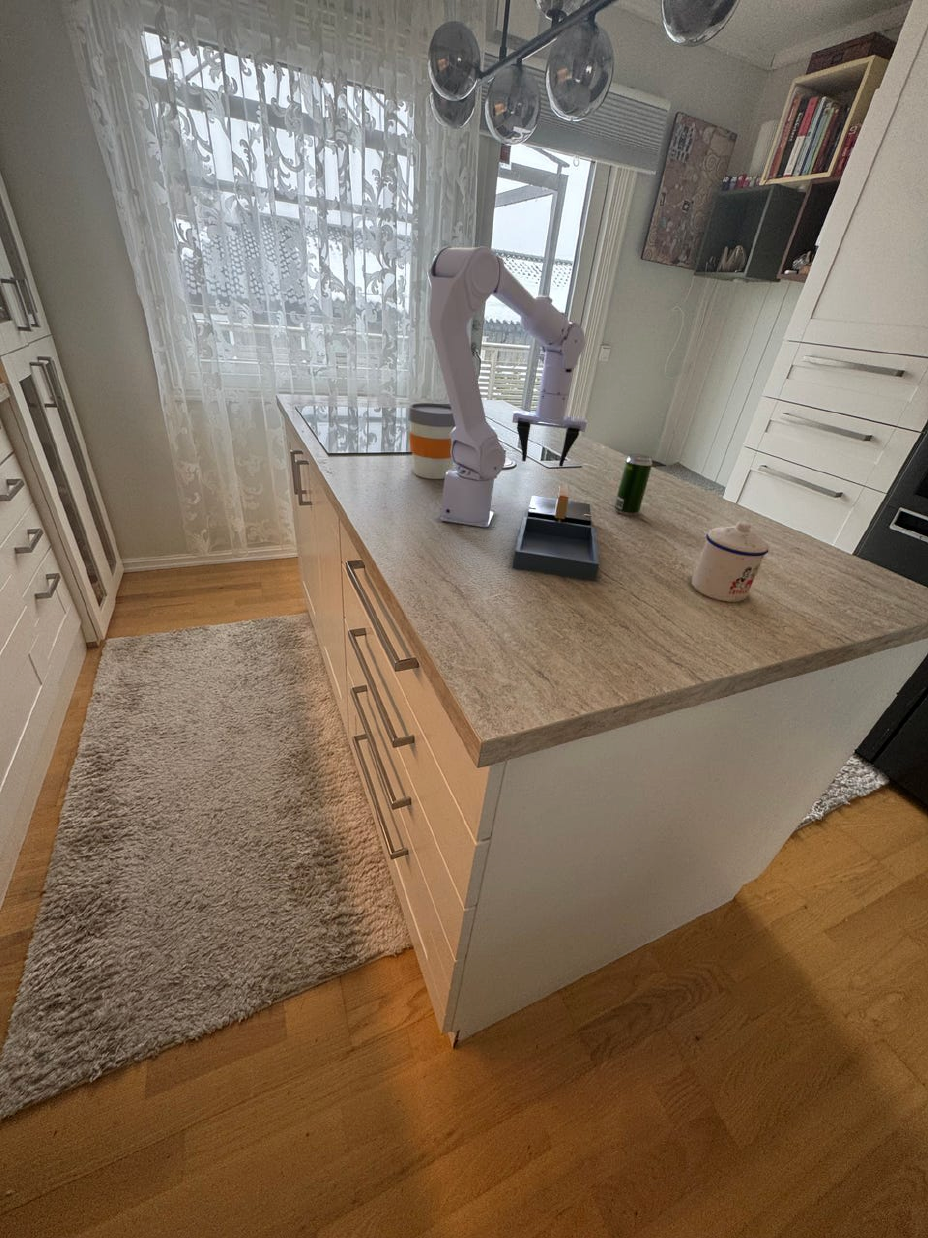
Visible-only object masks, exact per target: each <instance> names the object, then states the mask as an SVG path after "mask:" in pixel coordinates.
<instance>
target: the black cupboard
mask: <svg viewBox="0 0 928 1238" xmlns="http://www.w3.org/2000/svg"><path fill="white" fill-rule="evenodd" d="M556 501H557V498H552V497H544V496H538V495H537V496H536V495H531V498H530V503H529V506H528V512H527V517H532V518H539V519H546V520H553V521H558V523H560V522H566V523H573V524H580V525H586V526H591V524H592V512H591V504H590V503H585V502H581V501H580V502H579V501H572V500H568V504H567V509H566V514H565V519H559V518H555V510H556Z"/></svg>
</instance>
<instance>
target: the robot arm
mask: <svg viewBox="0 0 928 1238" xmlns="http://www.w3.org/2000/svg"><path fill="white" fill-rule="evenodd" d="M426 274H427V278H428V283H429V286H430V298H429V309H428V311H429V312H428V322H429V328H430V332H431V336H432V339H433V344H434V347H435V351H436V355H437V360H438V363H439V367H440V371H441V374H442V379H443V382H444V386H445V390H446V394H447V397H448V402H449V405H450V406H451V410H452V413H453V417H454V421H455V425H456V427H455V428H454V429H453V430H452V431H451V433H450V438H451V450H450V454H451V458H452V460H453V464H455V466H454V467H455V468H454V470H452V471H447V473H446V476H445V478H444V481H443V486H442V487H443V488H442V500H441V501H442V503H441V515H440V516H441V517H440V521H442V522H448V523H453V524H461V525H468V526H473V527H480V528H485V529H487V528H489V527H490V525H491V522H492V519H493V517H494V511H491V508H492V500H493V491H494V482H495V479H497V478H498V475H499V474H500V473H501V472H502V471H503V469H504V467H505V464H506V460H507V459H506V457H507V456H506V450H505V448H504V447H503V446H502V444H501V443H500V441H499V437H498V434H497V433H496V431H495V429H494V428H492V426H491V425H490V424H489V423H488V420H487V418H486V413H485V407H484V403H483V400H482V394H481V389H480V385H479V380H478V374H477V370H476V366H475V362H474V356H473V352H472V347H471V343H470V338H469V333H468V328H467V326H468V324H469V322H470V320H471V319H472V318H473V317H474V316H475V315H476V313H477V312H478V311H479V310H480V308H481V307H482V306H483V305H484V304H485V303H486V302H487V300H488V299H489V298H490V297H491V296H493V297H495V298H496V299H497V300H498V301H500V303H502V304H503V305H505V306H506V307H508V308H509V309H511V310H512V311H513V312H514V313H515V314H517V315H518V316H520V317H519V323H520V326H521V328H522V329H523V330H524V331H525V332H526V333H528V334H529V335H530V336H532V338H534V339H535V340H536V341H537V342H539V345H540V350H541V351H542V353H544V359H543V366H542V373H541V378H540V385H539V392H538V397H537V398H538V399H537V404H536V411H535V412H531V411H519V410H514V411H513V413H512V414H513V415H512V421H511V422H512V423H514V424H517V425H516V430H517V433H518V436H519V441H520V448H521V461H522V462H526V461H527V456H528V446H529V445H528V443H529V436H530V430H531V425H535V426H542V427H550V428H558V429H565V435H564V441H563V446H562V450H561V454H560V458H559V464H558V467H563V466H564V462H565V460H566V458H567V455H568V453H569V451H570V450H571V448H572V446H573V445H574V443H575V442H576V440H577V439H578V437H579V436H580V432H583V433H585V432H586V428H587V423H588V421H587V419H582V418H575V417H572V416H567V415H566V412H567V407H568V402H569V401H568V400H569V397H570V396H569V395H570V390H571V385H572V379H573V373H574V369H576V367H577V366H578V362H579V358H580V356H581V355H582V353H583V351H584V349H585V347H586V343H587V341H586V339H585V337H586V336H585V332H584V330H583V328H582V326H581V325H580V324H579V323H577V322H570V320H568V318H567V317H568V315H567V314H566V313H565V312H562V311H560V310H558V308H556V306H554V304H553V299H552V297H550V296H549V295H535V296H533V295H532V294H531V293H530V292H529V291H528V290H527V288H525V286H524V285H523V284H522V283H521V282H520V281H519V279H517V278H516V276H514V274H513V273H512V272H511V271H510V270H509V269H508V268H507V267H506V266H505V261H504V259H503V258H502V257H501V256H499V255H496V253H495V252H494V251H493V249H491V248H490V247H487V246H477V247H455V246H443V247H442V248H440V249H439V250H438V251H437V252H436V254H435V255H434V258H433V260H432V261H431V264H430V266H429V268H428V270H427V273H426Z"/></svg>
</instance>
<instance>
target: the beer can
mask: <svg viewBox="0 0 928 1238" xmlns="http://www.w3.org/2000/svg"><path fill="white" fill-rule="evenodd" d="M652 466H653V458H652V457H651V456H648V455H645V454H639V453H630V454H628V457H627V458H626V460H625V463H624V467H623V471H622V475H621V479H620V483H619V487H618V491H617V495H616V499H615V503H614V510H615V512H616V513H618V514H620V515H623V516H630V517H632V516H636V515H638V513H639V512H640V510H641V506H642V503H643V499H644V495H645V492H646V489H647V485H648V483H649V478H650V475H651V471H652Z"/></svg>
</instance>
